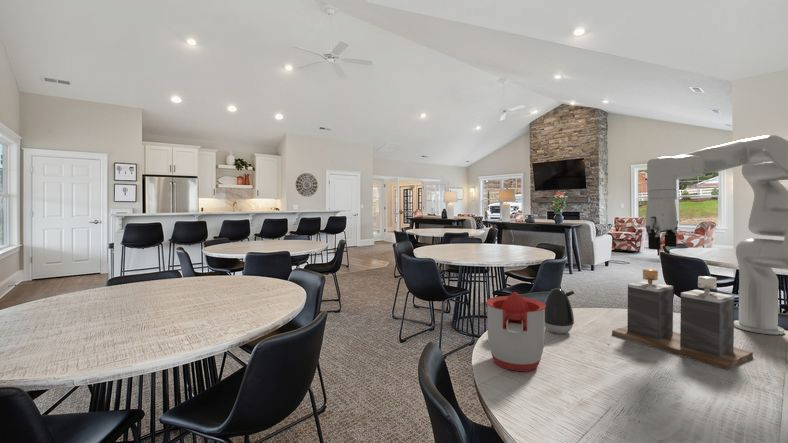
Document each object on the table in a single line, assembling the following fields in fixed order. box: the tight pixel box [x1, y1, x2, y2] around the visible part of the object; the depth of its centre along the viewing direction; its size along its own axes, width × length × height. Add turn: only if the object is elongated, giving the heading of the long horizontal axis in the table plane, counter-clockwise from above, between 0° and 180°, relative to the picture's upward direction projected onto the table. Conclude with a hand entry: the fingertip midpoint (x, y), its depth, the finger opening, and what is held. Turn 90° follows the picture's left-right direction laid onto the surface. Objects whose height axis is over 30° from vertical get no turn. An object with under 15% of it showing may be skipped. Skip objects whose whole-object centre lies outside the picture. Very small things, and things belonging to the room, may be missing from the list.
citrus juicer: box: [485, 291, 546, 372], centre depth 97 cm, size 16×17×20 cm
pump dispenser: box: [543, 287, 575, 335], centre depth 123 cm, size 10×10×15 cm
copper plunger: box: [642, 268, 659, 286], centre depth 116 cm, size 7×7×20 cm
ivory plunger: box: [697, 275, 718, 295], centre depth 102 cm, size 7×7×20 cm
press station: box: [611, 280, 754, 370], centre depth 109 cm, size 16×30×18 cm, turn 27°
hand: (662, 247), depth 115 cm, fingers open, 9 cm apart
